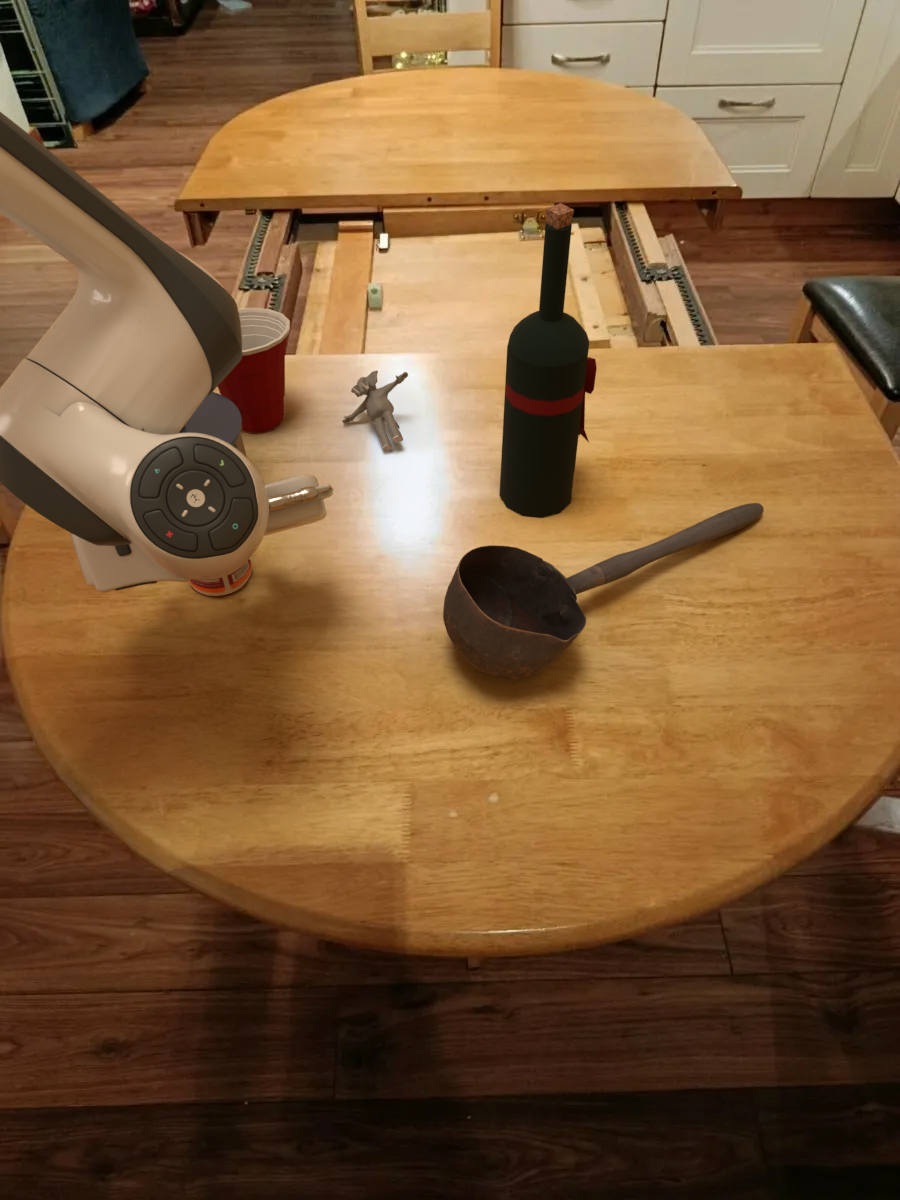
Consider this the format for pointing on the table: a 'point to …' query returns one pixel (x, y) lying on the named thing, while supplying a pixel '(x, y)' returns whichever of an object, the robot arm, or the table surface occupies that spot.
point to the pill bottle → (224, 582)
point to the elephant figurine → (378, 407)
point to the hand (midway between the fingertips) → (206, 533)
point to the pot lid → (216, 419)
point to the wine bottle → (545, 389)
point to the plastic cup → (259, 370)
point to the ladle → (545, 597)
